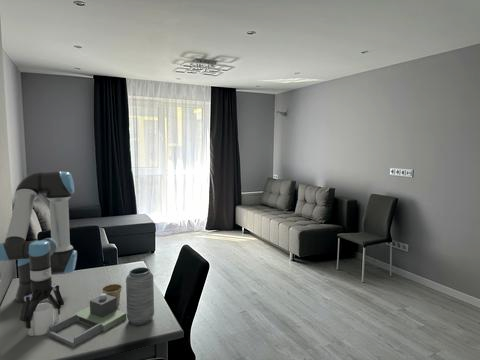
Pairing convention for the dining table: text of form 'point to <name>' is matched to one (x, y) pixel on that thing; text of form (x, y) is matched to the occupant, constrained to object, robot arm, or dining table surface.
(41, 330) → the cup
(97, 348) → the dining table surface
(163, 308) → the dining table surface
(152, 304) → the vase
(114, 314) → the square frame with panel
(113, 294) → the flower pot
